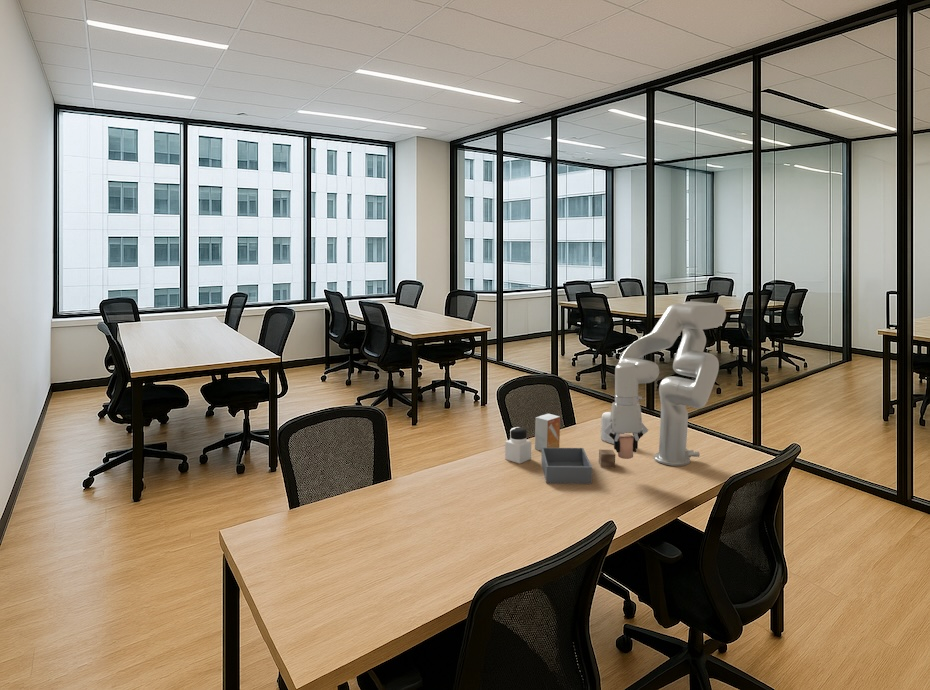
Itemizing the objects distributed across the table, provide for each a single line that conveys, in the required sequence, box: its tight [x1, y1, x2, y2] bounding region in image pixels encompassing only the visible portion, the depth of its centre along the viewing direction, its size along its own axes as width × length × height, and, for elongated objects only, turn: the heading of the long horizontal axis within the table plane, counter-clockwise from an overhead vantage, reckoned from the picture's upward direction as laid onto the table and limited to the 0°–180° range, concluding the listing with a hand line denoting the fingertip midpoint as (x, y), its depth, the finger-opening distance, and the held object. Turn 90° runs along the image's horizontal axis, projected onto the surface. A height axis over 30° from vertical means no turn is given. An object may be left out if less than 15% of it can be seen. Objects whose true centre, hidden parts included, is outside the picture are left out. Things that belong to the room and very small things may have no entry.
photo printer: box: [600, 411, 625, 445], centre depth 244 cm, size 10×4×12 cm, turn 36°
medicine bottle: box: [504, 426, 532, 464], centre depth 226 cm, size 7×7×12 cm
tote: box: [540, 447, 593, 485], centre depth 213 cm, size 15×19×6 cm
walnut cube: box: [598, 449, 616, 468], centre depth 221 cm, size 5×5×5 cm
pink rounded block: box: [617, 433, 634, 460], centre depth 207 cm, size 5×5×7 cm
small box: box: [534, 413, 561, 452], centre depth 237 cm, size 8×6×13 cm
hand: (625, 450), depth 207 cm, fingers closed on pink rounded block, 4 cm apart
